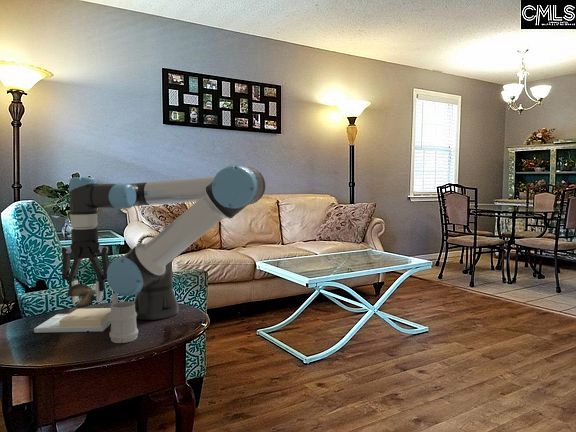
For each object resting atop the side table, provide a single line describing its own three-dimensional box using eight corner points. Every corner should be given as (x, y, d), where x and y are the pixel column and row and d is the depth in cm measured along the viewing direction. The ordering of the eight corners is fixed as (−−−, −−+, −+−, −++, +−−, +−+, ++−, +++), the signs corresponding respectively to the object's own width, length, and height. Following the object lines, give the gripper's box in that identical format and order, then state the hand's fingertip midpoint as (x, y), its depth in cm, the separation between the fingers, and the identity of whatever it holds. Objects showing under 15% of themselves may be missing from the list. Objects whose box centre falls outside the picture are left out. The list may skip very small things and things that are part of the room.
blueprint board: (119, 316, 144) (118, 307, 144) (103, 331, 130) (102, 320, 130) (57, 317, 143) (56, 308, 143) (34, 332, 129) (33, 321, 129)
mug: (116, 346, 118) (114, 302, 117) (99, 335, 127) (98, 294, 126) (143, 338, 124) (141, 297, 123) (125, 328, 132) (124, 289, 131)
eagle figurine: (73, 296, 138) (60, 299, 129) (86, 277, 139) (74, 278, 130) (93, 309, 138) (82, 313, 129) (107, 290, 139) (96, 292, 130)
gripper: (120, 226, 138) (123, 297, 140) (57, 226, 138) (61, 298, 139) (112, 228, 131) (115, 304, 133) (45, 229, 130) (49, 305, 132)
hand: (87, 301), depth 136 cm, fingers closed on eagle figurine, 7 cm apart
